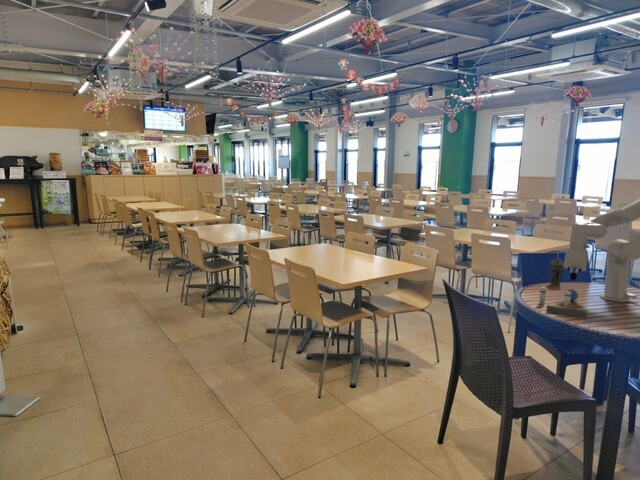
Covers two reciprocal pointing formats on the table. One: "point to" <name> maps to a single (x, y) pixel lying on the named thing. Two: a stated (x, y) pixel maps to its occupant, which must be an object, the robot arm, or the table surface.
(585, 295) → the table surface
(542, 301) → the grey pin
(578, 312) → the back wall
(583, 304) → the table surface
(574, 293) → the ball
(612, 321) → the table surface
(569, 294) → the cream pin
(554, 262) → the beverage cup
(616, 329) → the table surface
